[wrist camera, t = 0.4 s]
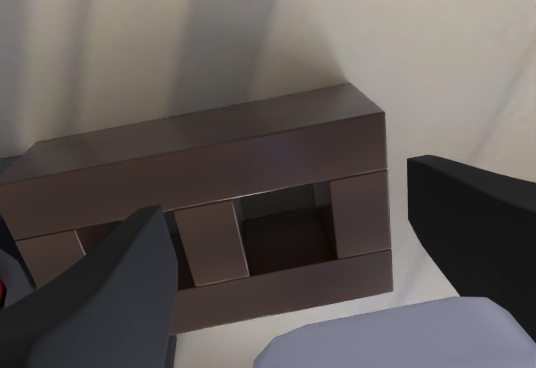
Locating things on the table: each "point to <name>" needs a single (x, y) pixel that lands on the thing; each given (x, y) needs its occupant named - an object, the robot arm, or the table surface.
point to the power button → (1, 289)
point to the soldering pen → (170, 352)
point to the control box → (12, 260)
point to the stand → (222, 202)
